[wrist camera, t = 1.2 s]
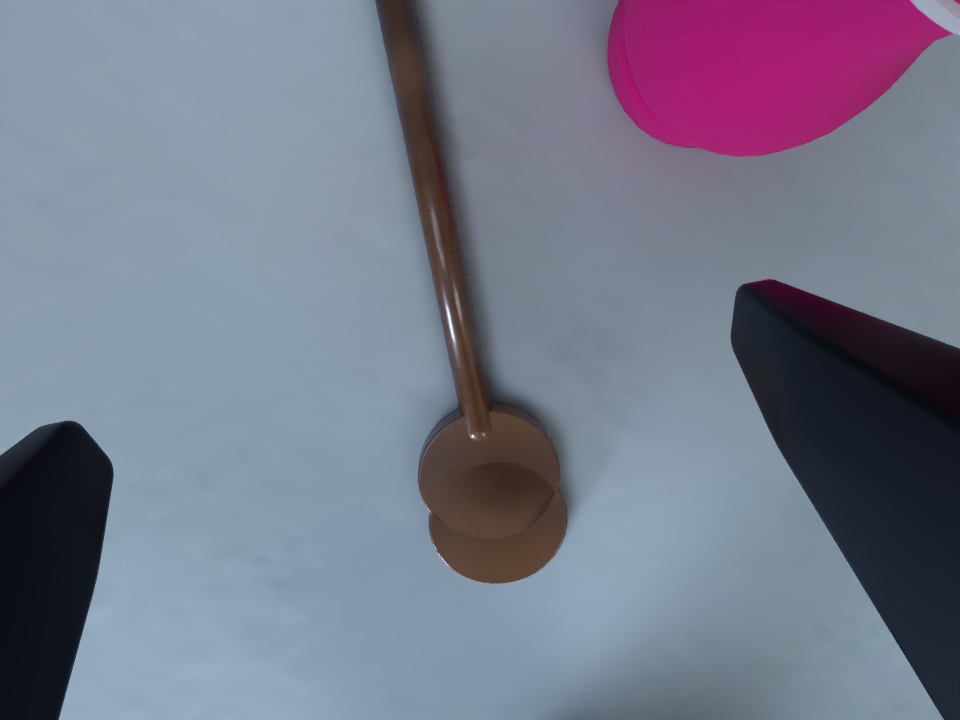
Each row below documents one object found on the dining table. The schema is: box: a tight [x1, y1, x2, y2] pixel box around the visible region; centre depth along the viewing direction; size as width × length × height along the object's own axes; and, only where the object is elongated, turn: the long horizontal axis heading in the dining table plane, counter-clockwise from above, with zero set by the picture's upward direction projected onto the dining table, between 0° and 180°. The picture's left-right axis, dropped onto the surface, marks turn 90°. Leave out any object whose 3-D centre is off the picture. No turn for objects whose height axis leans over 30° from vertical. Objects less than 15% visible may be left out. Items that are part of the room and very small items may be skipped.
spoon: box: [375, 0, 567, 583], centre depth 21 cm, size 22×5×1 cm, turn 11°
